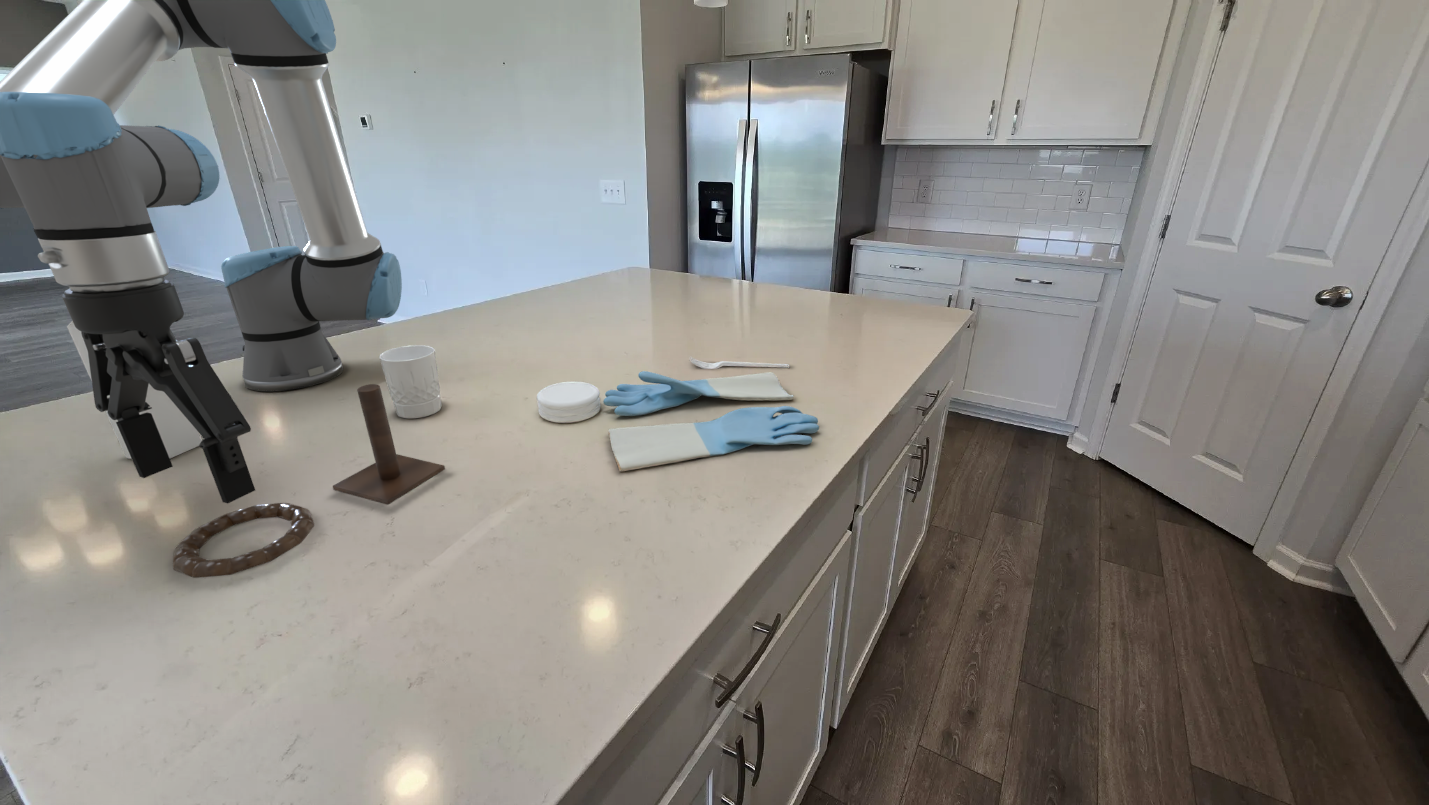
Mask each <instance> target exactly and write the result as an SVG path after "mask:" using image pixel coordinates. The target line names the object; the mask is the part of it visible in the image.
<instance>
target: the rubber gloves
mask: <svg viewBox="0 0 1429 805" xmlns="http://www.w3.org/2000/svg"><path fill="white" fill-rule="evenodd" d="M638 378H639V379H640V380H641V381H642V382H644V383H649V384H630V383H629V384H628V383H619V384H617V386H616V389H609V390H607V391H605V393H604V394H605V398H604V399H603V401H602V402H603V404H604V405H605V406H606V407H615V409H614V414H615V415H617V416H622V417H633V416H643V415H648V414H651V413H655V412H657V411H661V410H664V409H665V410H666V409H669V408H674V407H679V406H681V405H685V404H687V403H688V402H692V401H694V400H696V399H699V398H700V397H701V396H704V397H711V398H720V399H725V400H736V401H793V400H794V396H795V395H794V394H790V393H788V392H787V391H786V389H784V388H783V386H782V385H781V383H780V379H779V378H778V376H777V375H776V374H775V373H774V372H773V371H772V372H769V371H768V372H759V373H751V374H750V373H749V374H742V375H734V376H726V377H724V376H721V377H713V378H712V377H711V378H704V379H703V378H702V379H691V380H690V379H689V380H680V379H676V378H673V377H670V376H667V375H664V374H663V375H662V374H660V373H656V372H652V371H646V370H642V371H639V372H638ZM777 413H779V414H778V415H775V414H777ZM774 415H775V416H774ZM818 423H819V419H818V417H816V416H814V415H811V414H807V413H803V412H802V411H801V410H800V409H798V408H796V407H793V406H790V405H781V406H776V407H775V406H751V407H749V406H747V407H742V408H741V407H740V408H737V409H734V410H732V411H729V412H727V413H725V414H723V415H722V416H719V417H718V418H715V419H713V420H708V421H702V422H700V421H699V422H679V423H677V422H676V423H665V424H653V425H652V424H651V425H642V426H640V425H639V426H628V427H627V426H626V427H617V428H616V427H615V428H614V427H613V428H608V437H609V442H610V447H611V450H612V453H613V457H614V460H615V463H616V464H617V466H618V467H617V468H618V471H619V472H625V471H633V470H638V469H644V468H645V469H646V468H649V467H650V468H651V467H656V466H661V465H667V464H673V463H679V462H685V461H689V460H690V461H691V460H696V459H700V458H708V457H715V456H723V455H725V454H726V455H727V454H730V453H733V452H737V451H740V450H742V449H745V448H747V447H751V446H753V445H767V446H779V445H780V446H782V445H793V444H794V445H804V446H805V445H810V444H812V442H813V437H812V436H810V435H806V434H815V433H817V432H818V431H819V430H820V426H819V424H818ZM802 434H803V435H802ZM804 434H805V435H804Z"/></svg>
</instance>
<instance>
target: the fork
mask: <svg viewBox="0 0 1429 805" xmlns="http://www.w3.org/2000/svg"><path fill="white" fill-rule="evenodd" d="M688 361H689V362H690V363H691V364H693V365H694V366H697V367H698V368H701V369H703V370H717V369H719V368H721V367H753V368H754V367H756V368H787V369H788V368H791V367H790V364H789V363H770V362H769V363H768V362H753V361H751V362H748V361H730V360H729V361H727V360H721V361H717V362H705V361H702V360H698V359H696V358H694V357H692V356H689V360H688Z"/></svg>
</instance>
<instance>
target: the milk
mask: <svg viewBox="0 0 1429 805" xmlns="http://www.w3.org/2000/svg"><path fill="white" fill-rule="evenodd" d="M66 328H67V331H68V333H69V335H70V337H71V340H72V342H73V344H74V346H75V348H76V350H77V353H78V355H79V358H80V360H81V362H82V364H83V366H84V368H85V370H86V373H87V374H88V377H89V380H90V381H91V382H92V379H91V372H90V364H89V357H88V350H87V348H86V345H85V342H84V340H83V337H82V334H81V331H79V330H78V329H77V328H76V327H75V325H74V323H73V321H72V320H71V321H70V322H69V323H68V325H66ZM109 397H110V395H108V396H107V398H109ZM145 402H147V403H148V404H149V405H150V407H152V409H149V410H146V411H143V412H140V413H139V414H144V413H151V414H152V416H153V419H154V421H155V424H156V426H157V429H158V431H159V434H160V436H161V439H162V441H163V444H164V446H165V448H166V451H167V453H168V456H169V458H170V459H173V458H175V457H177V456H179V455H181V454H184V453H186V452H189V451H191V450H193V449H195V448H198V447H199V444H200V443H201V441H202V438H201V434H200V433H199V432H198V431H197V430H196V429H195V427H194V426H193V425H192V424H191V423H190V422H189V420H188V419H187V418H186V417H185V416H184V415H183V413H182V412H181V411H180V410H179V409H178V408H177V406H176V405H175V404H174V403H173V402H172V401H171V399H170V398H169V397H168V396H167V395H166V394H165V392H163V391H157V390H155V389H154V388H153V387H152V386H151V385H150V384H148V390H147V395H146V401H145ZM150 407H149V408H150ZM104 412H105V414H106V417H107V418H108V421H109V423H110V425H111V426H110V427H111V428H112V430H113V432H114V435H115V436H116V439H117V442H118V443H119V445H120V448H121V450H122V452H123V455H124V456H125V458H126V459H129V460H132V458H131V456H130V454H129V451H128V449H127V447H126V444H125V442H124V440H123V438H122V435H121V433H120V431H119V428H118V426H117V424H116V422H118V420H113V419H111V417H109V415H108V411H104Z"/></svg>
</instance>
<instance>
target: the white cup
mask: <svg viewBox="0 0 1429 805" xmlns="http://www.w3.org/2000/svg"><path fill="white" fill-rule="evenodd" d="M378 358H379V363H380V365H381V369H382V373H383V375H384V378H385V383H386V385H387V389H388V392H389V394H390V398H391V401H392V402H393V403H392V404H393V406H394V410H395V414H396V415H397V416H398V417H399V418H403V419H419V418H425V417H429V416H432V415H435V414H436V413H437V412H440V411H441V409H442V406H443V405H442V398H441V397H442V396H441V385H440V376H439V371H438V370H439V369H438V363H437V356H436V349H435V348H434V347H432V346H431V345H424V344H411V345H402V346H397V347H393V348H390V349H387V350H385V351H382V352H381V353H380V354H379V356H378Z"/></svg>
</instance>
